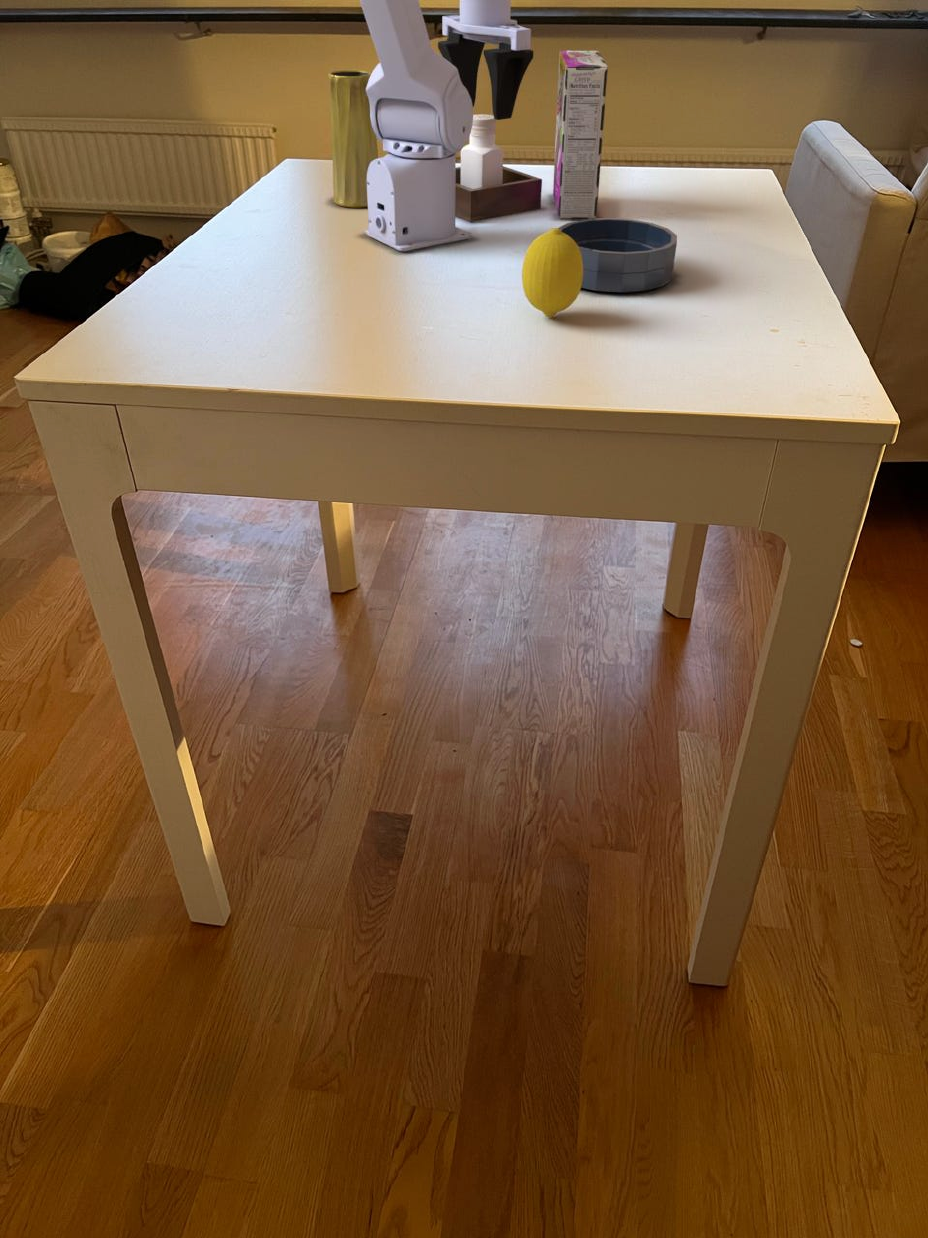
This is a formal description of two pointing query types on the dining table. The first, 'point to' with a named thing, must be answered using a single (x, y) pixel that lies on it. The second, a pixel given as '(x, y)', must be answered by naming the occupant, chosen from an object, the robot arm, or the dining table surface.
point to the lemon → (552, 272)
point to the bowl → (623, 253)
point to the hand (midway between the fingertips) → (483, 112)
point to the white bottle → (482, 155)
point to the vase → (351, 136)
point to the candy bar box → (579, 133)
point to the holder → (498, 197)
